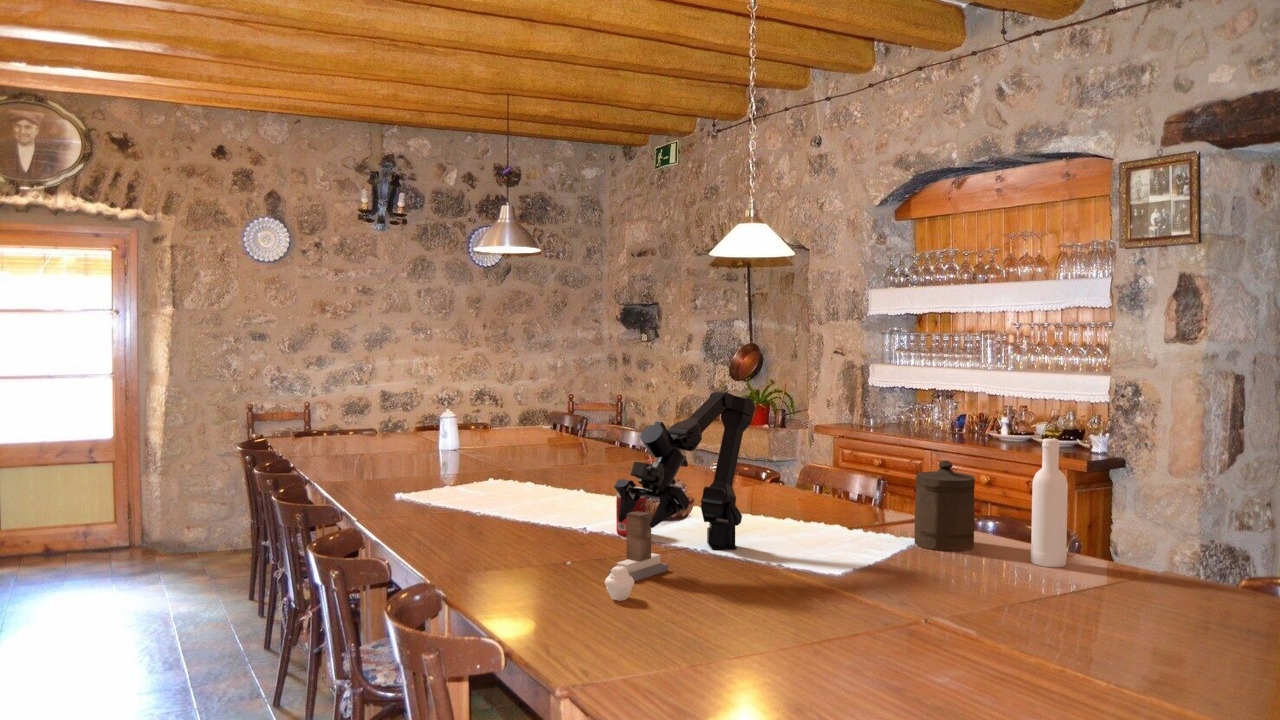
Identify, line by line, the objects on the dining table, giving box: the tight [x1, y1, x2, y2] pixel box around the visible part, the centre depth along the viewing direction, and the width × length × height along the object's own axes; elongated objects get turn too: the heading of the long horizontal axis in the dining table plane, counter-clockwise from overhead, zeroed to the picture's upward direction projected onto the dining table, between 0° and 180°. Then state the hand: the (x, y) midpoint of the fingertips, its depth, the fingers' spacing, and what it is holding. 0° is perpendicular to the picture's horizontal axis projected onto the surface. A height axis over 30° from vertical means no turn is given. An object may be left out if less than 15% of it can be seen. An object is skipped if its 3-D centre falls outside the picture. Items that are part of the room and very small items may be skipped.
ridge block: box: [608, 552, 669, 583], centre depth 220 cm, size 13×7×4 cm, turn 141°
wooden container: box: [914, 459, 976, 552], centre depth 249 cm, size 15×15×22 cm
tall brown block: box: [626, 511, 652, 562], centre depth 220 cm, size 4×4×10 cm
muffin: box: [604, 565, 635, 602], centre depth 200 cm, size 6×6×7 cm
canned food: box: [615, 492, 647, 537], centre depth 261 cm, size 8×8×11 cm
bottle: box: [1030, 438, 1069, 568], centre depth 229 cm, size 8×8×30 cm
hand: (635, 523), depth 218 cm, fingers open, 9 cm apart
